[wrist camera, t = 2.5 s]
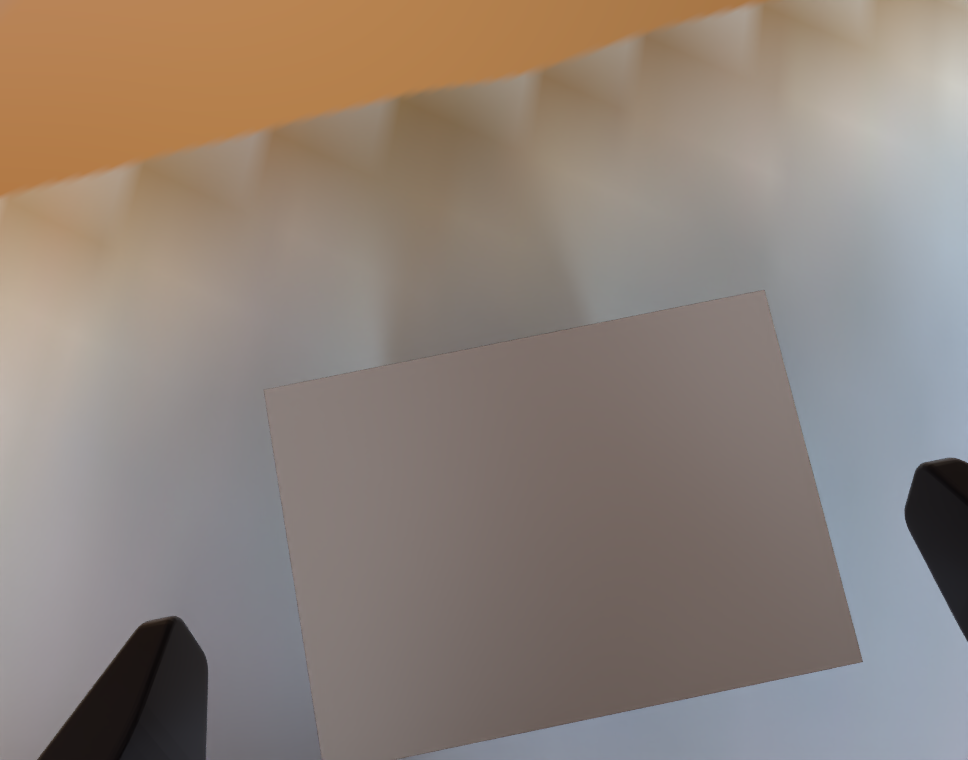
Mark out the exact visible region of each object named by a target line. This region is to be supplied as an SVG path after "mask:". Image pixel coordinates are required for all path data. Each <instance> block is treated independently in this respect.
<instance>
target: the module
mask: <svg viewBox="0 0 968 760" xmlns="http://www.w3.org/2000/svg"><path fill="white" fill-rule="evenodd" d="M264 396H265V402H266V409H267V415H268V421H269V428H270V434H271V440H272V447H273V453H274V459H275V466H276V472H277V478H278V485H279V491H280V497H281V504H282V510H283V516H284V523H285V529H286V535H287V542H288V548H289V554H290V561H291V567H292V573H293V580H294V586H295V592H296V599H297V605H298V611H299V618H300V624H301V630H302V637H303V643H304V649H305V656H306V662H307V668H308V675H309V681H310V688H311V694H312V700H313V707H314V713H315V719H316V726H317V732H318V738H319V745H320V751H321V757H322V760H395V759H400V758H405V757H409V756H414V755H419V754H424V753H429V752H433V751H438V750H443V749H448V748H453V747H457V746H462V745H467V744H472V743H477V742H481V741H486V740H491V739H496V738H501V737H505V736H510V735H515V734H520V733H525V732H529V731H534V730H539V729H544V728H549V727H553V726H558V725H563V724H568V723H573V722H577V721H582V720H587V719H592V718H597V717H601V716H606V715H611V714H616V713H621V712H625V711H630V710H635V709H640V708H644V707H649V706H654V705H659V704H664V703H668V702H673V701H678V700H683V699H688V698H692V697H697V696H702V695H707V694H712V693H716V692H721V691H726V690H731V689H736V688H740V687H745V686H750V685H755V684H760V683H764V682H769V681H774V680H779V679H784V678H788V677H793V676H798V675H803V674H808V673H812V672H817V671H822V670H827V669H832V668H836V667H841V666H846V665H851V664H856V663H860V662H863V661H862V657H861V653H860V649H859V645H858V642H857V638H856V634H855V630H854V627H853V623H852V619H851V615H850V611H849V608H848V604H847V600H846V596H845V593H844V589H843V585H842V581H841V577H840V574H839V570H838V566H837V562H836V559H835V555H834V551H833V547H832V543H831V540H830V536H829V532H828V528H827V525H826V521H825V517H824V513H823V509H822V506H821V502H820V498H819V494H818V491H817V487H816V483H815V479H814V475H813V472H812V468H811V464H810V460H809V457H808V453H807V449H806V445H805V441H804V438H803V434H802V430H801V426H800V423H799V419H798V415H797V411H796V407H795V404H794V400H793V396H792V392H791V389H790V385H789V381H788V377H787V373H786V370H785V366H784V362H783V358H782V355H781V351H780V347H779V343H778V339H777V336H776V332H775V328H774V324H773V321H772V317H771V313H770V309H769V305H768V302H767V298H766V294H765V290H761V291H756V292H751V293H746V294H741V295H736V296H731V297H726V298H721V299H716V300H711V301H706V302H701V303H696V304H691V305H686V306H681V307H676V308H671V309H666V310H661V311H656V312H651V313H646V314H641V315H636V316H631V317H626V318H621V319H616V320H611V321H606V322H601V323H596V324H591V325H586V326H581V327H576V328H571V329H566V330H561V331H556V332H551V333H546V334H541V335H536V336H531V337H526V338H521V339H516V340H511V341H506V342H501V343H496V344H490V345H485V346H480V347H475V348H470V349H465V350H460V351H455V352H450V353H445V354H440V355H435V356H430V357H425V358H420V359H415V360H410V361H405V362H400V363H395V364H390V365H385V366H380V367H375V368H370V369H365V370H360V371H355V372H350V373H345V374H340V375H335V376H330V377H325V378H320V379H315V380H310V381H305V382H300V383H295V384H290V385H285V386H280V387H275V388H270V389H265V390H264Z"/></svg>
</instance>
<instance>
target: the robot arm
mask: <svg viewBox="0 0 968 760" xmlns="http://www.w3.org/2000/svg"><path fill="white" fill-rule="evenodd" d="M905 520H906V524H907V527H908V529H909V531H910V533H911V535H912V537H913V539H914V541H915V543H916V545H917V547H918V548H919V550H920V552H921V554H922V556H923V558H924V560H925V562H926V564H927V566H928V568H929V570H930V572H931V573H932V575H933V577H934V579H935V581H936V583H937V585H938V587H939V589H940V591H941V593H942V595H943V597H944V598H945V600H946V602H947V604H948V606H949V608H950V610H951V612H952V614H953V616H954V618H955V620H956V622H957V623H958V625H959V627H960V629H961V631H962V632H963V634H964V636H965V638H966V639H967V641H968V463H967V462H965V461H962V460H960V459H956V458H944V459H940V460H935V461H930V462H925V463H922V464H920V465H919V466H918V467H917V468H916V470H915V473H914V477H913V480H912V484H911V487H910V491H909V494H908V498H907V502H906V505H905ZM207 696H208V665H207V660H206V657H205V654H204V652H203V651H202V649H201V647H200V646H199V644H198V643H197V641H196V640H195V638H194V637H193V635H192V634H191V632H190V631H189V629H188V628H187V626H186V625H185V623H184V622H183V621H182V619H180V618H178V617H176V616H170V617H165V618H160V619H155V620H151V621H147V622H145V623H143V624H141V625H140V626H139V627H138V628H137V629H136V630H135V632H134V633H133V634H132V636H131V637H130V638H129V640H128V641H127V642H126V644H125V645H124V646H123V647H122V649H121V650H120V651H119V653H118V654H117V655H116V657H115V658H114V659H113V661H112V662H111V663H110V665H109V666H108V667H107V669H106V670H105V671H104V672H103V674H102V675H101V676H100V678H99V679H98V680H97V682H96V683H95V684H94V686H93V687H92V688H91V690H90V691H89V692H88V694H87V695H86V696H85V697H84V699H83V700H82V701H81V703H80V704H79V705H78V707H77V708H76V709H75V711H74V712H73V713H72V715H71V716H70V717H69V719H68V720H67V721H66V722H65V724H64V725H63V726H62V728H61V729H60V730H59V732H58V733H57V734H56V736H55V737H54V738H53V740H52V741H51V742H50V744H49V745H48V746H47V748H46V749H45V750H44V751H43V753H42V754H41V755H40V757H39V758H38V759H37V760H206V733H207Z"/></svg>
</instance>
